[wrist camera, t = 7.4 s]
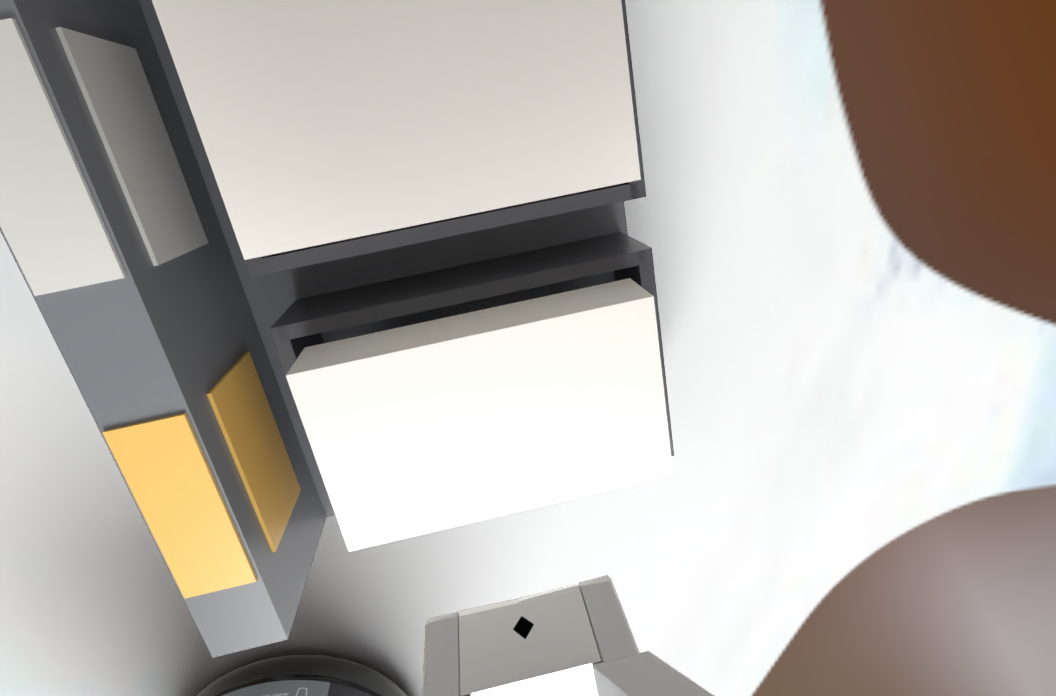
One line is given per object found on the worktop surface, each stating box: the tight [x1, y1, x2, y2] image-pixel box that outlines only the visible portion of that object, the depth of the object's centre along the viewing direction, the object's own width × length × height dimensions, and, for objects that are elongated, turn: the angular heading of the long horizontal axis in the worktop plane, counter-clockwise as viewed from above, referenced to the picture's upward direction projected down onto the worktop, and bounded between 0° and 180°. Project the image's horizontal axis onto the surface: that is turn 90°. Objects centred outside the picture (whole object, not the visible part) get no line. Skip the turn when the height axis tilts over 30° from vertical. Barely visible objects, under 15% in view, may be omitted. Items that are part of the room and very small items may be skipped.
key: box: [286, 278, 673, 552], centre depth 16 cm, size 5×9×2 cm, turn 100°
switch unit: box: [0, 0, 674, 658], centre depth 15 cm, size 25×14×7 cm, turn 10°
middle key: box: [152, 0, 641, 260], centre depth 13 cm, size 5×9×2 cm, turn 100°
